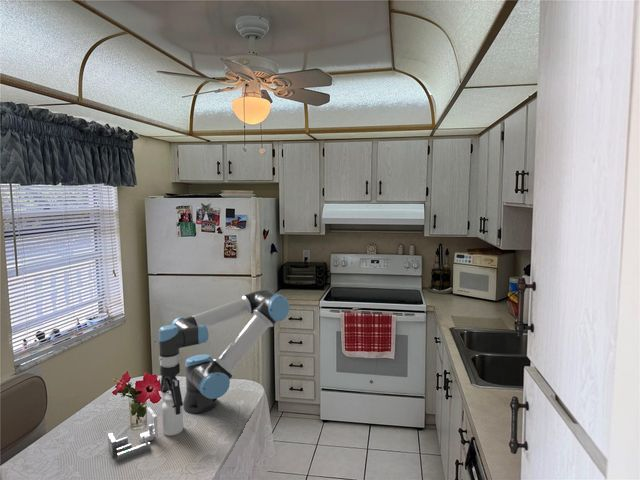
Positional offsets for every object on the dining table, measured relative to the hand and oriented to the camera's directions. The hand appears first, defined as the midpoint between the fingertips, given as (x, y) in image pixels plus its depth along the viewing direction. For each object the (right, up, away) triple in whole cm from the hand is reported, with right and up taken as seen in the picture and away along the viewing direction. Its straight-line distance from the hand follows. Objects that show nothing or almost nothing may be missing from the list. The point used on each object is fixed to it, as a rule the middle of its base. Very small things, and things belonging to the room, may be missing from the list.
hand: (171, 414), depth 169 cm
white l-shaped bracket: (-7, -8, -6) cm, 12 cm away
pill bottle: (0, -8, +1) cm, 8 cm away
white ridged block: (-12, -9, -11) cm, 19 cm away
